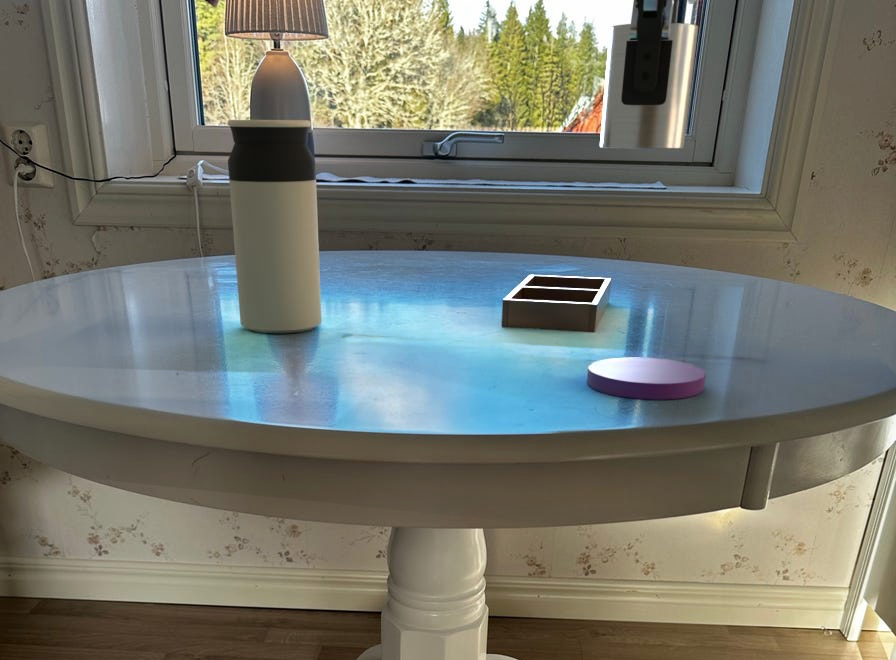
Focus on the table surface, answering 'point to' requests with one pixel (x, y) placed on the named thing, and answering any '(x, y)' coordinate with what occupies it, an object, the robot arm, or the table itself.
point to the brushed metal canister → (648, 121)
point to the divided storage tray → (557, 303)
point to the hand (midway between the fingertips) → (646, 103)
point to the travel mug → (275, 225)
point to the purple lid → (646, 378)
